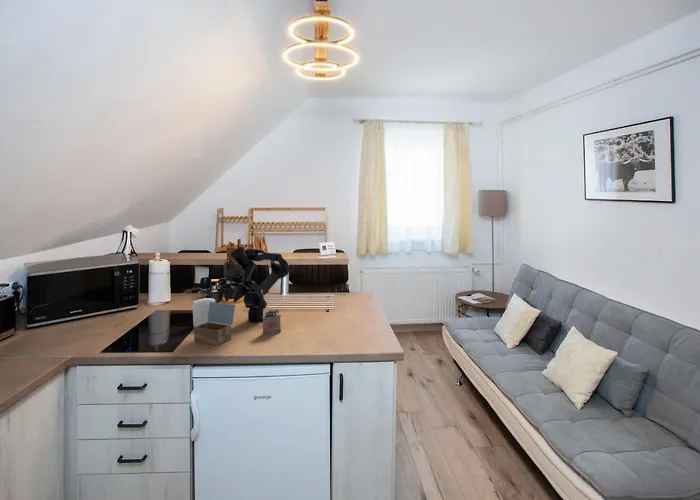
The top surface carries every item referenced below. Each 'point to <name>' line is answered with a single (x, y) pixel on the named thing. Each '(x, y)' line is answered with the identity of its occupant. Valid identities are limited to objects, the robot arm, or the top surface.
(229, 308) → the lid
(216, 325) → the walnut box
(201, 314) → the photo printer
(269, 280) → the robot arm
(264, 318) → the lighter
